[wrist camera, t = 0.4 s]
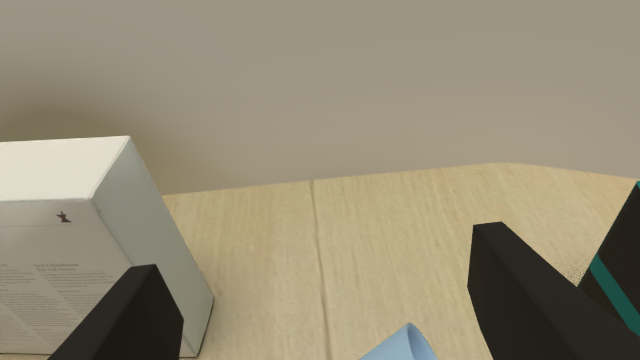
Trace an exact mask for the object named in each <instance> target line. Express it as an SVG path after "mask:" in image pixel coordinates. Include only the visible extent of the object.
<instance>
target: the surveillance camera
mask: <svg viewBox="0 0 640 360" xmlns="http://www.w3.org/2000/svg"><path fill="white" fill-rule="evenodd" d="M577 288H578V289H580V290H581V291H582V292H583V293H585V294H586V295H587V296H588V297H589V298H591V299H592V300H593V301H594V302H595V303H597V304H598V305H599V306H601V307H602V308H603V309H604V310H606V311H607V312H608V313H609V314H611V315H612V316H613V317H615V318H616V319H617V320H619V321H620V322H621V323H622V324H624V325H625V326H626V327H628V328H629V329H630V330H632V331H633V332H634V333H636V334H637V335H638V336H640V181H637V182H636V184H635V186H634V188H633V189H632V191H631V193H630V195H629V196H628V198H627V200H626V202H625V204H624V205H623V207H622V209H621V211H620V212H619V214H618V216H617V218H616V219H615V221H614V223H613V225H612V226H611V228H610V230H609V232H608V233H607V235H606V237H605V239H604V240H603V242H602V244H601V246H600V248H599V249H598V251H597V253H596V255H595V256H594V258H593V260H592V262H591V263H590V265H589V267H588V269H587V270H586V272H585V274H584V276H583V277H582V279H581V281H580V283H579V284H578V286H577Z"/></svg>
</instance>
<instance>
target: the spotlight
mask: <svg viewBox="0 0 640 360" xmlns="http://www.w3.org/2000/svg"><path fill="white" fill-rule="evenodd" d="M359 360H438V359H437V358H436V356H435V354H434V352H433V350H432V349H431V347H430V345H429V344H428V342H427V340H426V339H425V338H424V336H423V335H422V333H421V332H420V331H419V330H418V328H417V327H416V326H415V325H413V324H412V323H408V324H406V325H405V326H404V327H402V328H401V329H400V330H398V331H397V332H396V333H394V334H393V335H391V336H390V337H389V338H387V339H386V340H385V341H383V342H382V343H381V344H379V345H378V346H377V347H375V348H374V349H372V350H371V351H370V352H368V353H367V354H366V355H364V356H363V357H362V358H360V359H359Z"/></svg>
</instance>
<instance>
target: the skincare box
mask: <svg viewBox="0 0 640 360" xmlns="http://www.w3.org/2000/svg"><path fill="white" fill-rule="evenodd" d="M149 264H156V265H157V267H158V269H159V271H160V273H161V275H162V277H163V279H164V281H165V283H166V285H167V287H168V289H169V290H170V292H171V294H172V296H173V298H174V300H175V302H176V304H177V306H178V308H179V310H180V312H181V314H182V316H183V318H184V325H183V333H182V341H181V348H180V355H179V357H196V356H197V354H198V352H199V349H200V345H201V342H202V339H203V336H204V333H205V330H206V326H207V323H208V319H209V316H210V312H211V308H212V303H213V299H214V296H213V294H212V292H211V290H210V288H209V287H208V285H207V283H206V281H205V279H204V277H203V275H202V273H201V271H200V270H199V268H198V266H197V264H196V262H195V260H194V258H193V256H192V254H191V252H190V251H189V249H188V247H187V245H186V243H185V241H184V239H183V237H182V235H181V234H180V232H179V230H178V228H177V226H176V224H175V222H174V220H173V218H172V216H171V214H170V212H169V211H168V209H167V207H166V205H165V203H164V201H163V199H162V197H161V195H160V193H159V191H158V189H157V187H156V186H155V184H154V182H153V180H152V178H151V176H150V174H149V172H148V170H147V168H146V166H145V165H144V163H143V161H142V159H141V157H140V155H139V153H138V151H137V149H136V147H135V145H134V143H133V141H132V139H131V137H130V136H114V137H98V138H77V139H58V140H38V141H18V142H0V353H28V354H53V353H54V352H55V351H56V350H57V348H58V347H59V346H60V345H61V344H62V343H63V342H64V341H65V340H66V338H67V337H68V336H69V335H70V334H71V333H72V332H73V331H74V329H75V328H76V327H77V326H78V325H79V324H80V323H81V322H82V320H83V319H84V318H85V317H86V316H87V315H88V314H89V313H90V311H91V310H92V309H93V308H94V307H95V306H96V305H97V303H98V302H99V301H100V300H101V299H102V298H103V296H104V295H105V294H106V293H107V292H108V291H109V290H110V288H111V287H112V286H113V285H114V284H115V283H116V282H117V281H118V279H119V278H120V277H121V276H122V275H123V274H124V273H125V272H126V271H127V270H128V269H129V268H130V267H133V266H141V265H149Z"/></svg>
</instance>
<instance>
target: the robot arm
mask: <svg viewBox="0 0 640 360" xmlns="http://www.w3.org/2000/svg"><path fill="white" fill-rule="evenodd" d="M467 288H468V291H469V294H470V298H471V301H472V304H473V308H474V311H475V314H476V317H477V320H478V323H479V326H480V330H481V332H482V334H483V336H484V339H485V341H486V343H487V346H488V348H489V350H490V353H491V355H492V357H493V359H494V360H640V336H638V335H637V334H636V333H634V332H633V331H632V330H630V329H629V328H628V327H626V326H625V325H624V324H622V323H621V322H620V321H619V320H617V319H616V318H615V317H613V316H612V315H611V314H609V313H608V312H607V311H606V310H604V309H603V308H602V307H601V306H599V305H598V304H597V303H595V302H594V301H593V300H592V299H591V298H589V297H588V296H587V295H586V294H585V293H583V292H582V291H581V290H580V289H578V288H577V287H576V286H575V285H574V284H572V283H571V282H570V281H569V280H568V279H566V278H565V277H564V276H563V275H562V274H560V273H559V272H558V271H557V270H556V269H555V268H554V267H552V266H551V265H550V264H549V263H548V262H547V261H546V260H544V259H543V258H542V257H541V256H540V255H539V254H538V253H536V252H535V251H534V250H533V249H532V248H531V247H530V246H529V245H528V244H526V243H525V242H524V241H523V240H522V239H521V238H520V237H519V236H518V235H516V234H515V233H514V232H513V231H512V230H511V229H510V228H509V227H507V226H506V225H505V224H504V223H503V222H493V223H485V224H477V225H473V234H472V244H471V254H470V264H469V274H468V284H467ZM183 325H184V318H183V316H182V314H181V312H180V310H179V308H178V306H177V304H176V302H175V300H174V298H173V296H172V294H171V292H170V290H169V289H168V287H167V285H166V283H165V281H164V279H163V277H162V275H161V273H160V271H159V269H158V267H157V265H156V264H149V265H141V266H133V267H130V268H129V269H128V270H127V271H126V272H125V273H124V274H123V275H122V276H121V277H120V278H119V279H118V281H117V282H116V283H115V284H114V285H113V286H112V287H111V288H110V290H109V291H108V292H107V293H106V294H105V295H104V296H103V298H102V299H101V300H100V301H99V302H98V303H97V305H96V306H95V307H94V308H93V309H92V310H91V311H90V313H89V314H88V315H87V316H86V317H85V318H84V319H83V320H82V322H81V323H80V324H79V325H78V326H77V327H76V328H75V329H74V331H73V332H72V333H71V334H70V335H69V336H68V337H67V338H66V340H65V341H64V342H63V343H62V344H61V345H60V346H59V347H58V348H57V350H56V351H55V352H54V353H53V354H52V355H51V356H50V357H49V358H48V359H47V360H179V355H180V348H181V341H182V333H183Z"/></svg>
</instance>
